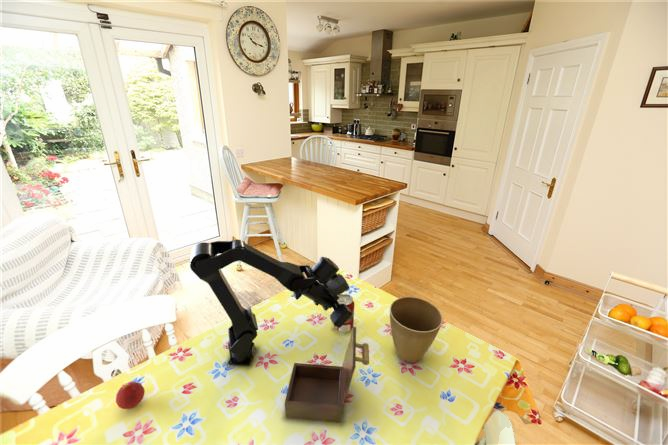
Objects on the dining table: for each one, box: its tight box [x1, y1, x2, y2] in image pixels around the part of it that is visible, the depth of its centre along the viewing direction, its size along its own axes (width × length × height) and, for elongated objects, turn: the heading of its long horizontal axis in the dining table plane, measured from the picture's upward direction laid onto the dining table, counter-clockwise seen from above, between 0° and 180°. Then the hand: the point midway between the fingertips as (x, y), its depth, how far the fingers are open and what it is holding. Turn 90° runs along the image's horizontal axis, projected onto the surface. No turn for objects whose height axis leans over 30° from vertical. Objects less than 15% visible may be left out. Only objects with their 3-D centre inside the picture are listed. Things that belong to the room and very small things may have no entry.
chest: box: [284, 362, 342, 423], centre depth 75 cm, size 14×12×5 cm
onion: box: [115, 381, 146, 410], centre depth 72 cm, size 6×6×8 cm
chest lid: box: [340, 326, 370, 408], centre depth 71 cm, size 14×12×4 cm
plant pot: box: [389, 296, 444, 364], centre depth 87 cm, size 15×15×16 cm
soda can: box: [333, 293, 355, 334], centre depth 97 cm, size 7×7×12 cm
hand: (347, 310), depth 98 cm, fingers closed on soda can, 7 cm apart
